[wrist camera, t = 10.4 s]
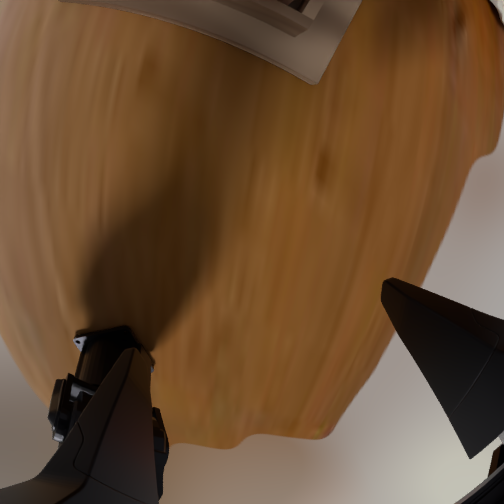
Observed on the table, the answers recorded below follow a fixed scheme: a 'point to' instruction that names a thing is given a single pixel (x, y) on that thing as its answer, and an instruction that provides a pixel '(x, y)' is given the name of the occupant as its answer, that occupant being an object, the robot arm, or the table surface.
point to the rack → (259, 26)
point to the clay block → (285, 1)
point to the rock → (499, 8)
